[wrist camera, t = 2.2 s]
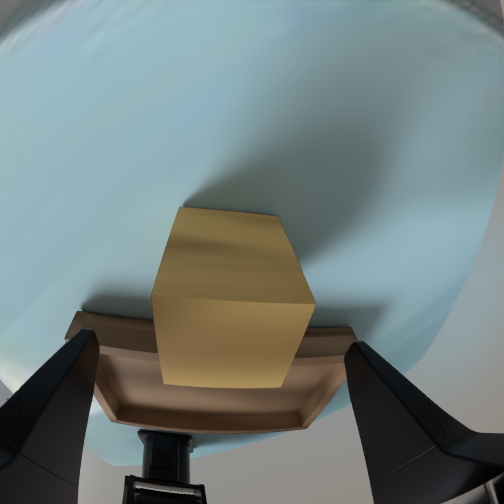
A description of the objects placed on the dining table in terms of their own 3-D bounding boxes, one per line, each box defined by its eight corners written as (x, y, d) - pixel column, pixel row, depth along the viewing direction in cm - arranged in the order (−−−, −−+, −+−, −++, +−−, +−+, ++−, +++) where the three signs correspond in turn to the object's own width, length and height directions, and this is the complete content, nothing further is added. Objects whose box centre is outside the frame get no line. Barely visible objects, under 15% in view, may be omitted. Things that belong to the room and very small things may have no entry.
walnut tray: (301, 408, 23) (306, 428, 21) (115, 400, 20) (111, 421, 18) (351, 326, 17) (363, 353, 15) (77, 310, 14) (64, 338, 12)
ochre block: (261, 292, 15) (280, 387, 10) (177, 286, 14) (163, 383, 9) (277, 216, 13) (316, 304, 7) (179, 207, 12) (151, 294, 7)
